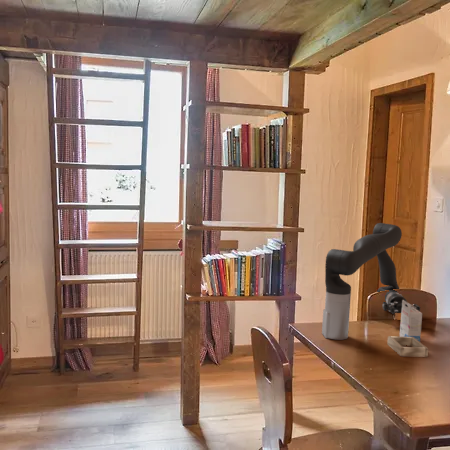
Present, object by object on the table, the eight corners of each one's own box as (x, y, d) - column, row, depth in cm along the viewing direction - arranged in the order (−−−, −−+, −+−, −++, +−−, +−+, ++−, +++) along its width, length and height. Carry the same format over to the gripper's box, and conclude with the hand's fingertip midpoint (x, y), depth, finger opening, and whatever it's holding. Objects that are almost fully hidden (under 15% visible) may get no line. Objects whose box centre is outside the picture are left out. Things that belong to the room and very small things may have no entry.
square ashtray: (400, 356, 174) (401, 347, 173) (387, 344, 186) (387, 336, 186) (427, 356, 174) (428, 348, 174) (412, 344, 186) (413, 336, 186)
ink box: (420, 343, 188) (423, 305, 187) (407, 343, 188) (410, 304, 186) (411, 336, 197) (414, 299, 195) (398, 336, 196) (401, 299, 195)
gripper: (380, 292, 218) (387, 301, 202) (414, 294, 217) (424, 304, 201) (378, 309, 219) (385, 319, 203) (412, 311, 217) (422, 322, 201)
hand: (404, 311), depth 202 cm, fingers open, 8 cm apart
